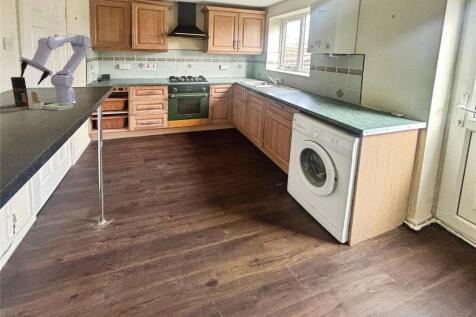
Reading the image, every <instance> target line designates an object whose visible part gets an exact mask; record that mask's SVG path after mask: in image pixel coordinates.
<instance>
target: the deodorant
mask: <svg viewBox="0 0 476 317" xmlns="http://www.w3.org/2000/svg"><path fill="white" fill-rule="evenodd" d="M10 82H11V87H12V93H13V98H14V104H15V107H18V108H19V107H20V108H21V107H29V102H30V101H29V96H28V90H27V84H26V83H27V82H26V77H25V76H22V77H20V76H11V77H10Z"/></svg>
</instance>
